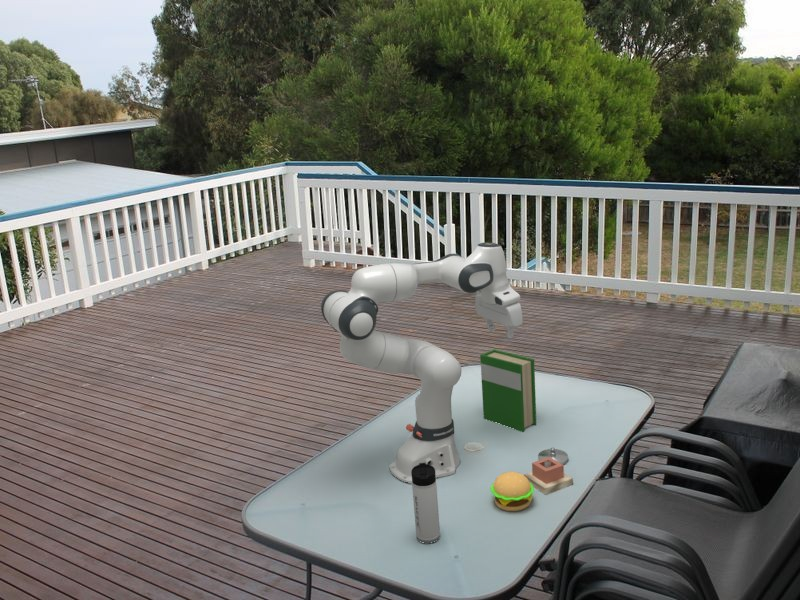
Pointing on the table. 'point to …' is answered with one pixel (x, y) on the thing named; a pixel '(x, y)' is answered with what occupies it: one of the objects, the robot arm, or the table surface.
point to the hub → (554, 455)
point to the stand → (550, 486)
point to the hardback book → (508, 389)
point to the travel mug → (425, 503)
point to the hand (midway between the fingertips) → (500, 334)
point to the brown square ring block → (547, 470)
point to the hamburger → (512, 491)
